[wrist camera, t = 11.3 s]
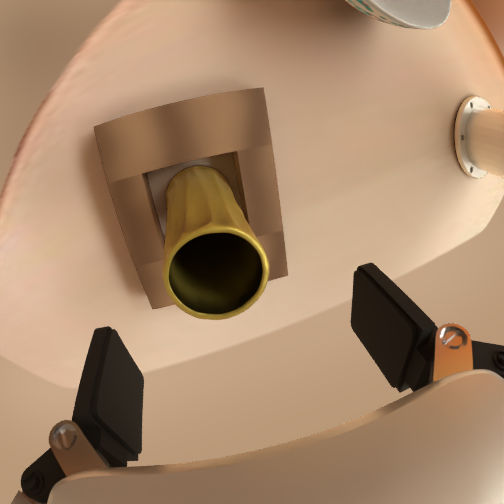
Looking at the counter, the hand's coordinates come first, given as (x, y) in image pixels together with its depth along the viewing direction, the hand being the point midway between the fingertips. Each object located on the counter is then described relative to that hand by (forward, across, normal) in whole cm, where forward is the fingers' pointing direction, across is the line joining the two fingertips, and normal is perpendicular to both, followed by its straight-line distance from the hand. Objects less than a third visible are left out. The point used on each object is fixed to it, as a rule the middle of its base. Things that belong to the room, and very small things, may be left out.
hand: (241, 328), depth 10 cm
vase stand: (+18, +1, 0) cm, 18 cm away
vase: (+18, +1, 0) cm, 18 cm away
